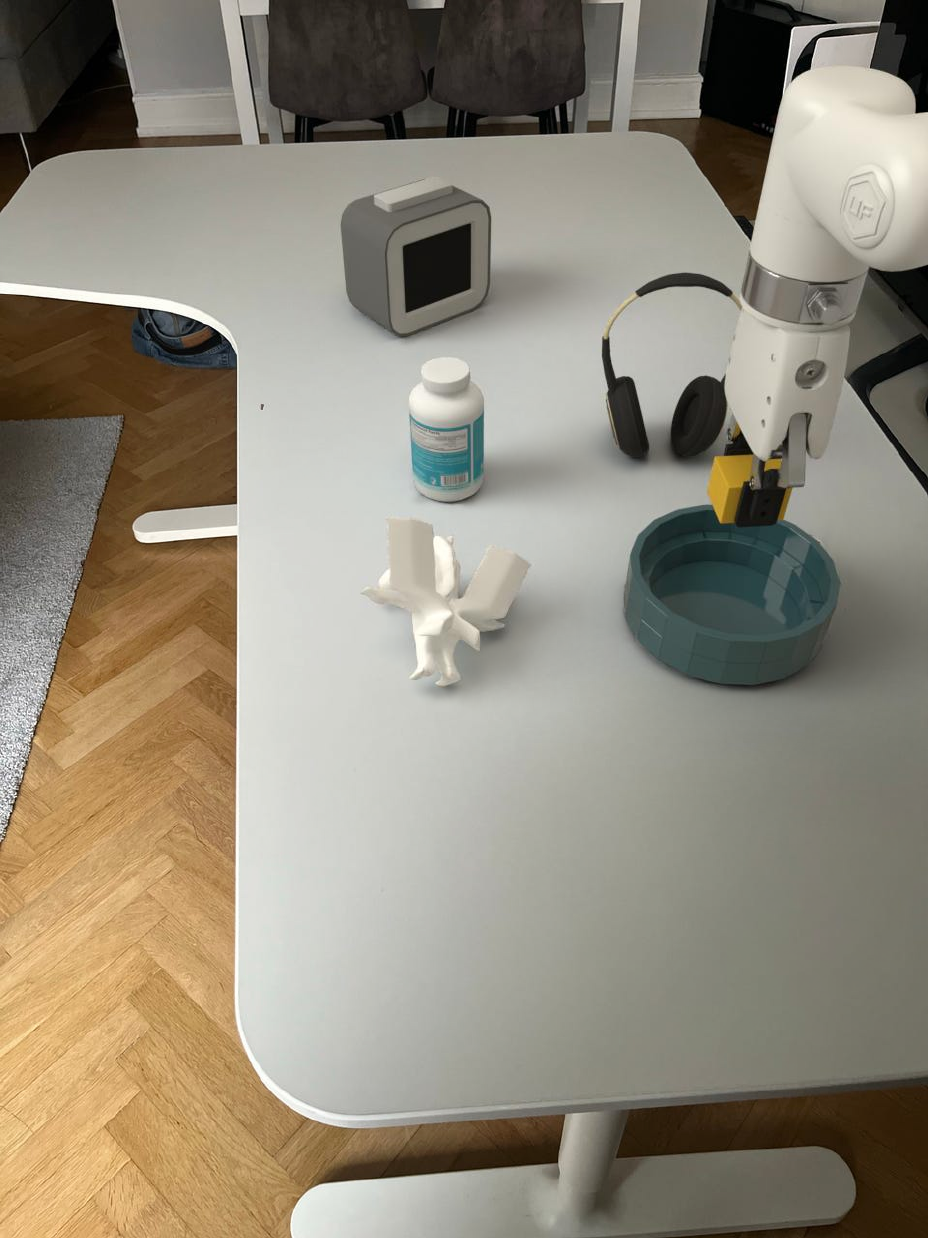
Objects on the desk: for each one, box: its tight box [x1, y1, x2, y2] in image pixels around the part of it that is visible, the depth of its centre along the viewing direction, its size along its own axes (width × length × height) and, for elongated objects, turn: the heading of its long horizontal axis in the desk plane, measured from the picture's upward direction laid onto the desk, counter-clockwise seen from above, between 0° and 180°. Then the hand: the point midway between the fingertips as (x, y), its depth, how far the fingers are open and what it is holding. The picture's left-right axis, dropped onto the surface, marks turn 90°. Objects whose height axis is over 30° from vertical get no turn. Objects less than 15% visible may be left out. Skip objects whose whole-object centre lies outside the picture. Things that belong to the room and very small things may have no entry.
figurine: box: [361, 516, 532, 687], centre depth 85 cm, size 15×12×14 cm
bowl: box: [623, 504, 842, 686], centre depth 87 cm, size 18×18×6 cm
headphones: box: [601, 271, 742, 458], centre depth 101 cm, size 9×15×20 cm, turn 90°
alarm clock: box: [340, 175, 492, 338], centre depth 126 cm, size 16×11×16 cm
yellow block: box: [706, 455, 793, 524], centre depth 77 cm, size 4×5×4 cm
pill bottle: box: [408, 356, 485, 502], centre depth 99 cm, size 8×7×14 cm
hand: (746, 502), depth 78 cm, fingers closed on yellow block, 4 cm apart
